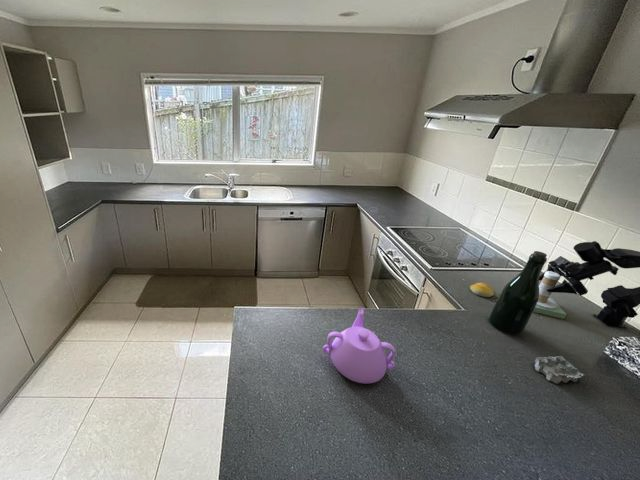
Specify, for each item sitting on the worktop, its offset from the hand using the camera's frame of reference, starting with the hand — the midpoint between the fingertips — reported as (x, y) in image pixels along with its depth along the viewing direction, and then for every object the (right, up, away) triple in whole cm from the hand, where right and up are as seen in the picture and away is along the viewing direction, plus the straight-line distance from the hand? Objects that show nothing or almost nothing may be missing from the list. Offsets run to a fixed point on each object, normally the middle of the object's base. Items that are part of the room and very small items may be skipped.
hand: (541, 285), depth 119 cm
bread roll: (-17, -6, +11) cm, 21 cm away
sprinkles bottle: (+1, -7, +2) cm, 7 cm away
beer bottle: (-24, -14, -9) cm, 30 cm away
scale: (+1, -10, +4) cm, 10 cm away
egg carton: (-25, -23, -29) cm, 44 cm away
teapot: (-89, -19, -26) cm, 95 cm away
